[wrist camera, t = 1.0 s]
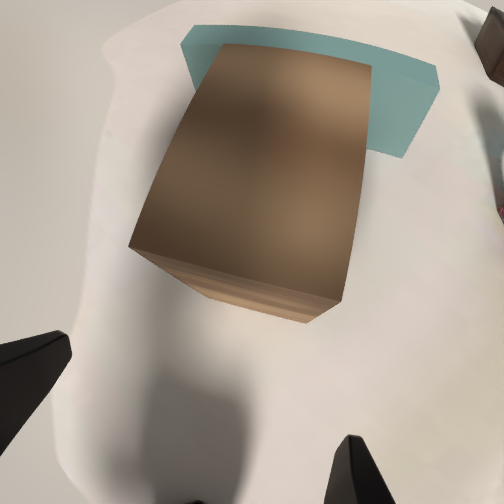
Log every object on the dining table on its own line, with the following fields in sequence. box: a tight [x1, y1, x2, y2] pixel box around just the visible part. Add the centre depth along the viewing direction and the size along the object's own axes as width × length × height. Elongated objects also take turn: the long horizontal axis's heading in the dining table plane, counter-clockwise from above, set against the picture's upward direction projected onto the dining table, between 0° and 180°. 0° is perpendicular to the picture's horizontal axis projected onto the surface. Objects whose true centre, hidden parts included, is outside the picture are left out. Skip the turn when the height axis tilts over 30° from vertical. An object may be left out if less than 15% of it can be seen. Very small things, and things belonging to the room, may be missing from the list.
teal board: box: [180, 25, 440, 158], centre depth 24 cm, size 3×20×10 cm, turn 75°
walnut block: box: [128, 43, 372, 323], centre depth 19 cm, size 12×8×14 cm, turn 165°
